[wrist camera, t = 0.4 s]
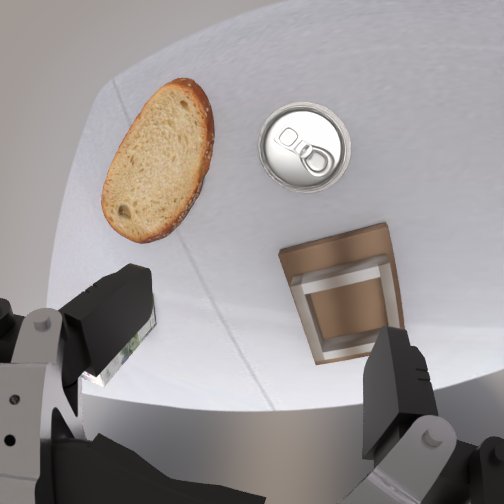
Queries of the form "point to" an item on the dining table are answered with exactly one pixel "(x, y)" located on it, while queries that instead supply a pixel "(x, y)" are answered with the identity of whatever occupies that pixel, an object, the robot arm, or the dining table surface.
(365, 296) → the board
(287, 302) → the dining table surface
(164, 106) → the slice of bread
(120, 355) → the syrup box
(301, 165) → the can
